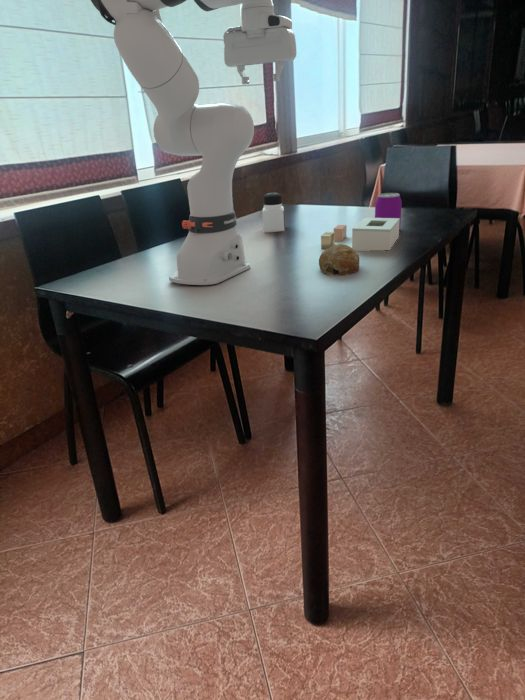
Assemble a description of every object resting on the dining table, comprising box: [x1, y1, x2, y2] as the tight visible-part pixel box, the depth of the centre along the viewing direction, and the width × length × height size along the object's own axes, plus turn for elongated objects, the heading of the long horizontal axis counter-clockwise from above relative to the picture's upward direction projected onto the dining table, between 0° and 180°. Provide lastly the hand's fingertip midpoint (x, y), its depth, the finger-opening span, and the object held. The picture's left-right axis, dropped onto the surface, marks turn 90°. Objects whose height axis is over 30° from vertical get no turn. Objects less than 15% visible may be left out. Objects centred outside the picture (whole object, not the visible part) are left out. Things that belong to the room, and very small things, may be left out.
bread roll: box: [318, 243, 360, 276], centre depth 119 cm, size 10×10×8 cm
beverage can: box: [374, 192, 403, 231], centre depth 149 cm, size 8×8×12 cm
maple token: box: [320, 231, 336, 250], centre depth 140 cm, size 5×2×4 cm, turn 156°
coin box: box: [351, 217, 400, 252], centre depth 137 cm, size 14×10×7 cm
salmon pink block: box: [333, 224, 347, 242], centre depth 147 cm, size 5×2×4 cm, turn 156°
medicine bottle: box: [261, 192, 286, 234], centre depth 166 cm, size 7×7×12 cm
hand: (261, 82), depth 136 cm, fingers open, 8 cm apart
